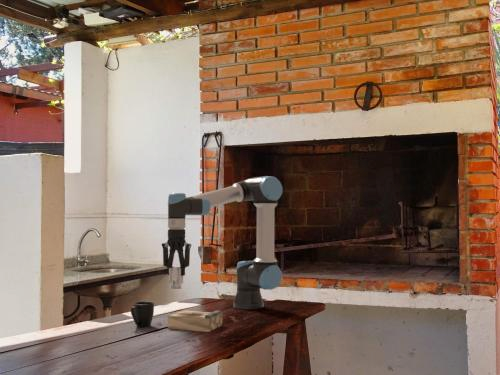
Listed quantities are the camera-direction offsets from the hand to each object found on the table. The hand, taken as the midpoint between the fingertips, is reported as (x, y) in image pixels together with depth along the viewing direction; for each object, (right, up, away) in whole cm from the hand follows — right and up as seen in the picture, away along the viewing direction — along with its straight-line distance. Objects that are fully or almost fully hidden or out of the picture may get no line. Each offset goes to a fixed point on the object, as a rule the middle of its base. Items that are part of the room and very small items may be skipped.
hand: (176, 283), depth 240 cm
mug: (-13, -16, -11) cm, 24 cm away
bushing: (0, -2, 0) cm, 2 cm away
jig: (+9, -16, -11) cm, 21 cm away
